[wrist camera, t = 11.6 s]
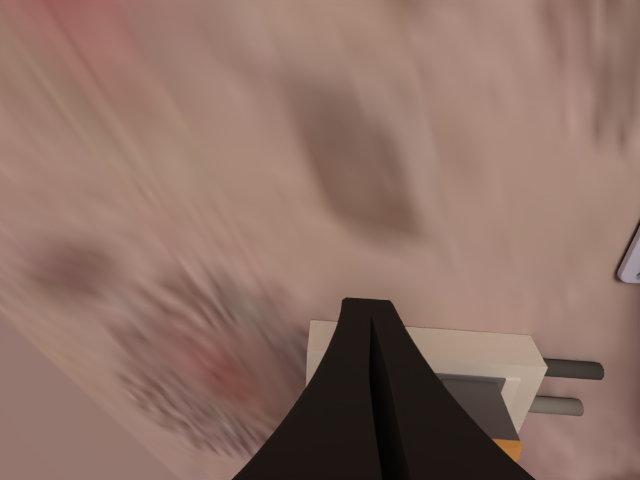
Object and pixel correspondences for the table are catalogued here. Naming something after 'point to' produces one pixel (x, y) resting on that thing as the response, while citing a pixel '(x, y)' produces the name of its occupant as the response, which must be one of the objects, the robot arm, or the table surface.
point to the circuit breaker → (464, 360)
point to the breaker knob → (487, 412)
